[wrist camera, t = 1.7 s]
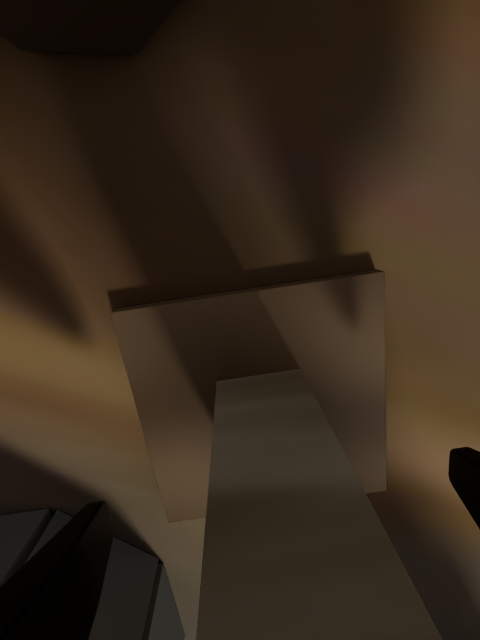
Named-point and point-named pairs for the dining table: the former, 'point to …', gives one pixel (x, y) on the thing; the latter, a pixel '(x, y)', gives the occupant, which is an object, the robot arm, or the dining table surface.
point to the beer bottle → (81, 24)
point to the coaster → (256, 370)
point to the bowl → (119, 584)
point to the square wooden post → (294, 528)
